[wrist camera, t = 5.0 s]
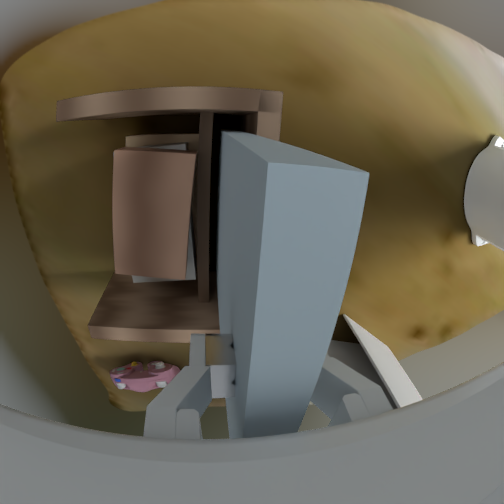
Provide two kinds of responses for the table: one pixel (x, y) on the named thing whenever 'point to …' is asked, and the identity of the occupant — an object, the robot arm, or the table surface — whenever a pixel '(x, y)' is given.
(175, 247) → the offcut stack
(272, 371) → the sheet
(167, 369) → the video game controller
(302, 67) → the table surface
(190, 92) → the rack
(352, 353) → the brochure
